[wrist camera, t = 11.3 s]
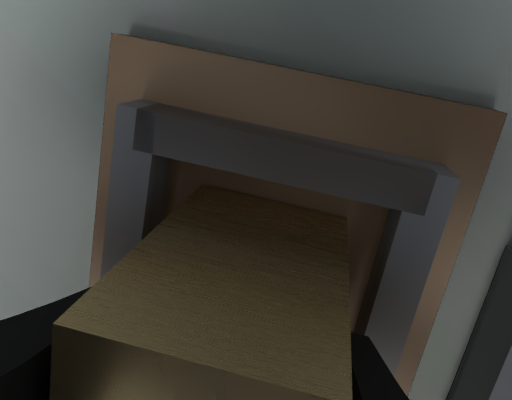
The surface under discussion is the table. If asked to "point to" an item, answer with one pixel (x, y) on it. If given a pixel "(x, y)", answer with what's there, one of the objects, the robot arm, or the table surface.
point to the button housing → (490, 344)
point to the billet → (215, 309)
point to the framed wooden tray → (298, 170)
